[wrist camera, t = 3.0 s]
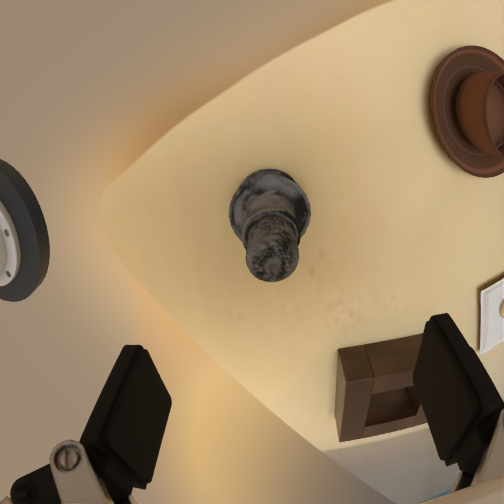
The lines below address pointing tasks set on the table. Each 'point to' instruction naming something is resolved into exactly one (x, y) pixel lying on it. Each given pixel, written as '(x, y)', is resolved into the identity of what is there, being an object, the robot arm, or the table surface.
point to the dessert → (492, 317)
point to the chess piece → (270, 222)
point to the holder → (377, 389)
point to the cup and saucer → (471, 109)
